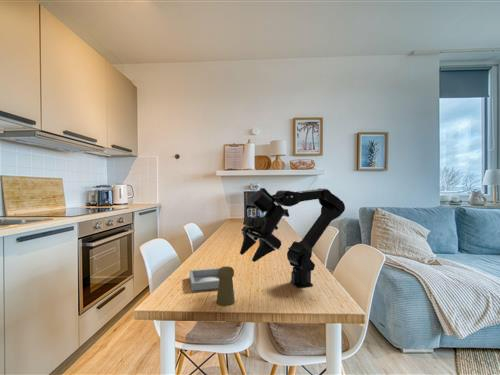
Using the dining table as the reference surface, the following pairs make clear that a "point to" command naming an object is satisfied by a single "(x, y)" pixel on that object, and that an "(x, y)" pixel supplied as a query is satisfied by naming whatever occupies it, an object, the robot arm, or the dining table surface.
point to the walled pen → (204, 279)
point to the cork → (225, 287)
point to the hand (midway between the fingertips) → (246, 257)
